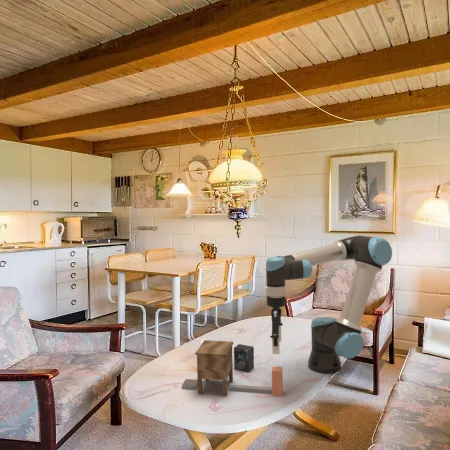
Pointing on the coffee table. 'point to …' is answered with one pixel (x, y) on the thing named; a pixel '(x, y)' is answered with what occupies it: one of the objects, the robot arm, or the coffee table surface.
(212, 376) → the cabinet
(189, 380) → the token
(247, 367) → the box
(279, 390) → the orange-headed mallet
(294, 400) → the coffee table surface
